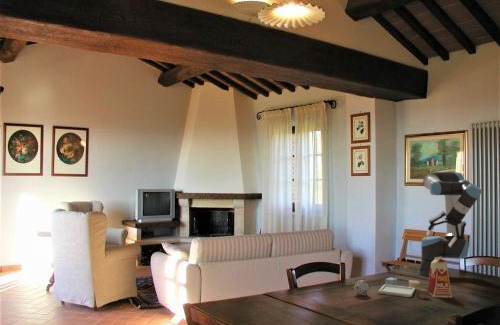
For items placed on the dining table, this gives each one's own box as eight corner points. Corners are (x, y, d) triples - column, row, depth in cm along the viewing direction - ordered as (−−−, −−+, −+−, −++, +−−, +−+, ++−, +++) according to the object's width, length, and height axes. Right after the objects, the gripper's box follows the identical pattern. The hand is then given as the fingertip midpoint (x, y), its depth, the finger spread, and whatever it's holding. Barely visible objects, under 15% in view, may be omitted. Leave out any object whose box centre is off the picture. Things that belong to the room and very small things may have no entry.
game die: (364, 303, 226) (371, 290, 221) (348, 296, 228) (354, 283, 222) (367, 291, 234) (374, 278, 228) (351, 284, 235) (357, 271, 230)
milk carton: (452, 297, 225) (451, 257, 226) (433, 297, 226) (433, 257, 226) (444, 293, 234) (444, 254, 235) (426, 292, 235) (426, 253, 235)
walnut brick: (416, 296, 227) (416, 288, 227) (423, 296, 228) (423, 288, 228) (421, 298, 223) (421, 290, 223) (428, 298, 224) (428, 290, 224)
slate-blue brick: (390, 284, 253) (390, 277, 253) (397, 285, 250) (397, 278, 250) (385, 286, 249) (385, 279, 249) (392, 287, 246) (392, 280, 246)
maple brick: (408, 287, 246) (408, 280, 246) (418, 288, 245) (418, 280, 245) (410, 289, 241) (410, 282, 241) (419, 290, 240) (419, 282, 240)
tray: (384, 287, 246) (384, 284, 246) (415, 290, 239) (415, 287, 239) (378, 293, 232) (378, 290, 232) (411, 297, 225) (411, 294, 225)
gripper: (439, 202, 242) (418, 233, 250) (482, 223, 241) (460, 254, 249) (437, 197, 249) (417, 227, 257) (479, 217, 248) (457, 247, 256)
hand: (438, 240), depth 253 cm, fingers open, 13 cm apart
